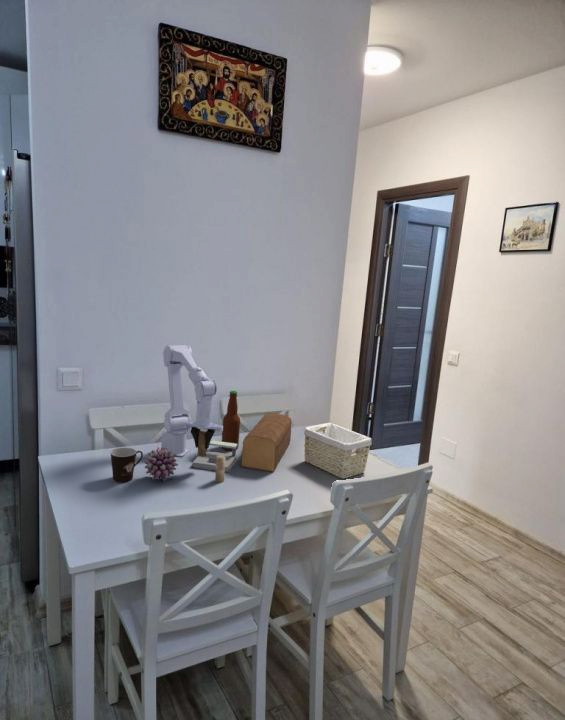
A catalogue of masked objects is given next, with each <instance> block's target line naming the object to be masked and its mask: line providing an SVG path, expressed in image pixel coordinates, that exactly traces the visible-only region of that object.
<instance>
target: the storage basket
mask: <svg viewBox="0 0 565 720" xmlns="http://www.w3.org/2000/svg"><path fill="white" fill-rule="evenodd" d="M320 432H323V433H320ZM303 434H304V462H306V463H308V464H309V463H310V465H312V466H314V467H317V468H318V467H319V468H318V469H321V470H322V471H325V472H326V471H327V473H329V474H331V475H334V476H335V477H338V478H339V479H348V478H349V477H353V476H357V475H359V474H362V473H364V472H365V471H366V467H367V463H368V457H369V452H370V449H371V446H372V441H373V440H372V437H369V436H367V435H364V434H361V433H358V432H356V431H353V430H351V429H348V428H345V427H342V426H340V425H338V424H336V423H335V424H334V423H332V422H326V423H319V424H315V425H311V426H306V427H305V428H304V432H303Z"/></svg>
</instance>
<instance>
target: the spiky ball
mask: <svg viewBox="0 0 565 720" xmlns="http://www.w3.org/2000/svg"><path fill="white" fill-rule="evenodd" d="M156 448H157V449H156V450H154V449H152V450H151V452H150V451H148V455H149V456H146V455H145V458H146V459H147V460H143V464H145V466H144V468H145V469H147V471H146V472H145V474H146V475H147V474H149V476H152V480H155V479H158V480H161V479H162V481H166V477H170V476H171V475H172V476H174V475H175V472H174V471H176V470H177V468H176V467H178V466H179V463H176V462H177V459H176V458H175V457H177V456H176V454H172V452H171V453H170V451H169V448H167V449H166V450H164V449H163V448H161V447H159V446H157V447H156Z"/></svg>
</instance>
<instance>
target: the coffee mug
mask: <svg viewBox="0 0 565 720" xmlns="http://www.w3.org/2000/svg"><path fill="white" fill-rule="evenodd" d="M139 453H140V458H139V460H137V461H136V458H137V454H139ZM143 455H144V453H143V451H141V450H136V449H135V448H133V447H118V448H117V447H116V448H114V449H112V450H111V451H110V460H111V470H112V478H113V479H112V480H113V482H115V483H118V484H125V483H129V482H131V481H132V480H133V477H134V472H135V471H134V470H135V467H136V466H138V464H139V463H140V462H141V460H142V458H143Z"/></svg>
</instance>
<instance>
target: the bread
mask: <svg viewBox="0 0 565 720" xmlns="http://www.w3.org/2000/svg"><path fill="white" fill-rule="evenodd" d="M292 424H293V423H292V418H291V417H289V416H288V415H285V414H281V413H272V412H271V413H270V412H269V413H266V414H264V415H263V417H262V418H261V419H260V420H259V421H258V422H257V424H256V425H254V427H253V428H252V429H251V430H250V431H249V432H248V433H247V434H246V436H244V439H243V441H242V451H241V460H240V462H241V467H243V468H246V467H247V469H252V470H259V471H265V472H266V471H267V472H272V473H273V472H274V473H275V470H276V468H277V467H278V464H279V463H280V461H281V460H282V459H283V456H284V455H285V453H286V451H287V449H288V448H289V446H290V443H291V436H292Z"/></svg>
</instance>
